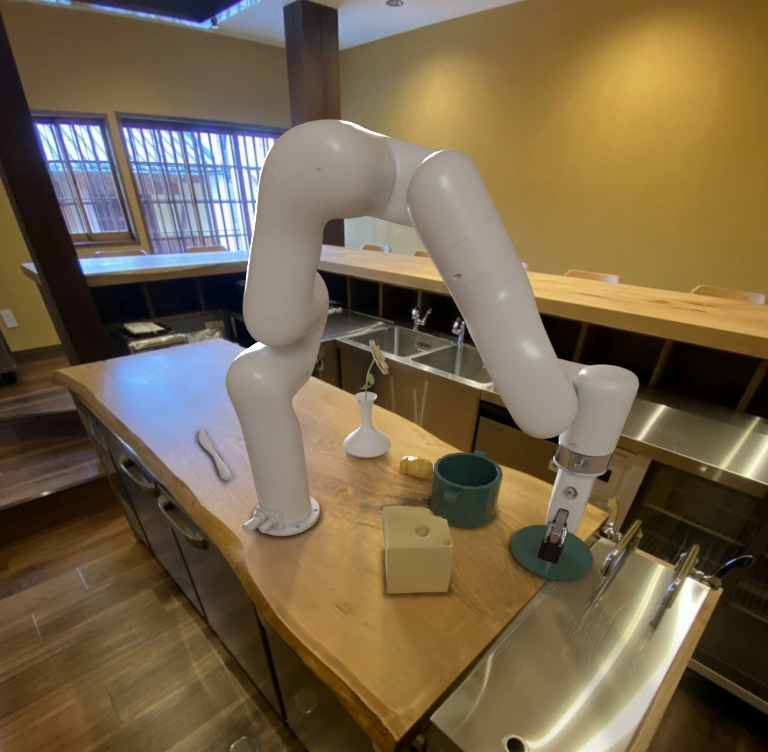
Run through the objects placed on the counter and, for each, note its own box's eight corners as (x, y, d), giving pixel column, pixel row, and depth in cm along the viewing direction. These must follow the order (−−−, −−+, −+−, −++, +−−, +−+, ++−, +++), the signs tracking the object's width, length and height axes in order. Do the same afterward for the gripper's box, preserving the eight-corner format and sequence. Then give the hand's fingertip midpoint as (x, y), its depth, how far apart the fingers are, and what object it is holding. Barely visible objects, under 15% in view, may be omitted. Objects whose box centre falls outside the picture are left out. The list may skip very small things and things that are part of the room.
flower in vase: (378, 467, 96) (377, 355, 81) (334, 456, 100) (326, 347, 84) (400, 442, 105) (404, 337, 90) (360, 433, 109) (356, 331, 94)
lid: (596, 543, 76) (607, 517, 72) (585, 595, 67) (597, 567, 63) (520, 521, 81) (527, 495, 77) (500, 565, 72) (506, 538, 68)
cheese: (440, 549, 75) (446, 503, 69) (450, 596, 66) (457, 549, 60) (382, 550, 74) (382, 504, 68) (383, 597, 66) (384, 550, 60)
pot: (505, 493, 88) (513, 456, 83) (478, 544, 76) (485, 504, 70) (448, 477, 93) (453, 441, 87) (414, 523, 80) (416, 484, 75)
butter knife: (218, 480, 90) (232, 475, 92) (194, 431, 109) (205, 427, 110) (219, 482, 91) (233, 478, 92) (194, 433, 109) (206, 429, 110)
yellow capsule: (436, 475, 94) (437, 458, 91) (428, 484, 91) (430, 468, 88) (404, 466, 97) (405, 450, 94) (396, 475, 94) (396, 458, 91)
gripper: (603, 492, 54) (567, 583, 65) (615, 435, 66) (583, 520, 77) (543, 476, 57) (518, 566, 67) (565, 425, 69) (541, 508, 80)
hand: (552, 542), depth 72 cm, fingers open, 9 cm apart
